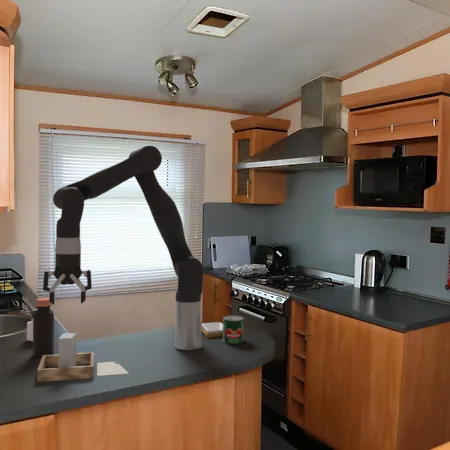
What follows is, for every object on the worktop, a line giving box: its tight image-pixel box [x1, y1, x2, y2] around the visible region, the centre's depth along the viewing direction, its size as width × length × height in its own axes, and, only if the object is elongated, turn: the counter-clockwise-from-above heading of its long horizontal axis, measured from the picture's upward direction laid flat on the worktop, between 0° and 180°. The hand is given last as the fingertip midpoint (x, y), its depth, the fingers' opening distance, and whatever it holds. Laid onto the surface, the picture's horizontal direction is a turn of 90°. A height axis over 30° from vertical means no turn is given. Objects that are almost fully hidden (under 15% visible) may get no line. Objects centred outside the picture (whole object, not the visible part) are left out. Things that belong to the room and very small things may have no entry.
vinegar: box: [32, 297, 55, 359], centre depth 160 cm, size 7×7×20 cm
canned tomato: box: [222, 315, 245, 345], centre depth 176 cm, size 8×8×11 cm
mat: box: [96, 361, 129, 377], centre depth 149 cm, size 12×12×1 cm
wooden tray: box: [36, 351, 95, 383], centre depth 144 cm, size 16×14×4 cm
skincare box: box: [57, 332, 77, 368], centre depth 144 cm, size 6×4×12 cm
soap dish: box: [202, 321, 223, 339], centre depth 187 cm, size 12×10×5 cm
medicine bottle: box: [26, 308, 37, 343], centre depth 179 cm, size 7×7×12 cm
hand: (67, 303), depth 144 cm, fingers open, 8 cm apart
